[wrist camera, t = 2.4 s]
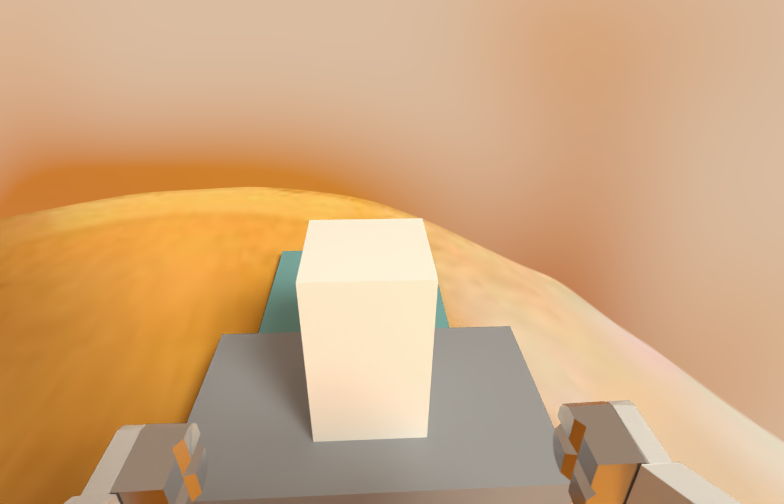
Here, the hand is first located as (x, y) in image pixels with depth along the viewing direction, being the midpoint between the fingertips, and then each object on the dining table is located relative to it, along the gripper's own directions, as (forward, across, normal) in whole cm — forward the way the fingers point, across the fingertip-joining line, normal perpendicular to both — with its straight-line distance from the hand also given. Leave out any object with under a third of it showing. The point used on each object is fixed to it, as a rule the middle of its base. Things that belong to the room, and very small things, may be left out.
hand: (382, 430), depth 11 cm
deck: (+12, 0, +14) cm, 19 cm away
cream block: (+12, 0, +12) cm, 17 cm away
